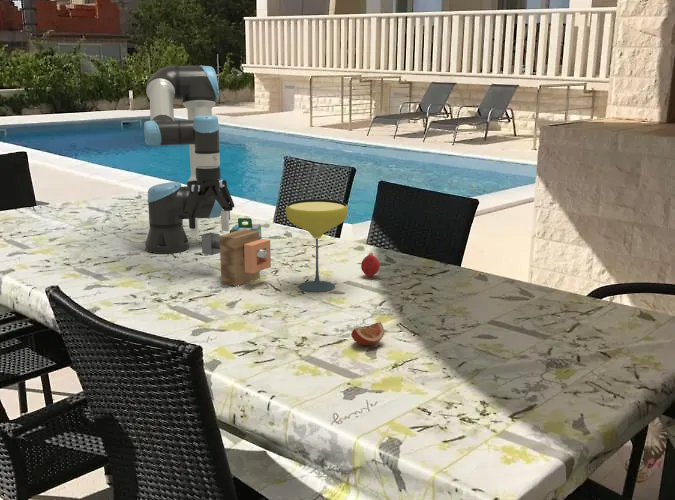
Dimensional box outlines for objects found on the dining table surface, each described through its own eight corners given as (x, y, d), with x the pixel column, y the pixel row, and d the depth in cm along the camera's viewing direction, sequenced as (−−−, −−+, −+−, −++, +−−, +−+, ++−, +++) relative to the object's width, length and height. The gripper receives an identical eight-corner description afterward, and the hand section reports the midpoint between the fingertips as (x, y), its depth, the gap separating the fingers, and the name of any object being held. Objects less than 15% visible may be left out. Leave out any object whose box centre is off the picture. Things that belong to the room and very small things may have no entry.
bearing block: (221, 283, 231) (219, 235, 227) (245, 274, 239) (243, 229, 236) (236, 286, 227) (234, 238, 224) (259, 278, 236) (258, 231, 232)
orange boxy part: (244, 271, 226) (244, 244, 224) (263, 265, 233) (262, 238, 230) (252, 273, 224) (251, 245, 222) (270, 267, 231) (270, 240, 229)
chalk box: (262, 257, 261) (261, 214, 257) (257, 264, 252) (256, 220, 248) (236, 256, 262) (235, 214, 258) (230, 263, 253) (228, 219, 249)
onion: (377, 280, 234) (378, 255, 232) (359, 279, 235) (359, 254, 233) (380, 275, 240) (381, 250, 238) (362, 274, 241) (362, 249, 239)
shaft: (202, 253, 238) (201, 234, 236) (211, 250, 241) (210, 232, 239) (261, 265, 225) (260, 245, 223) (269, 262, 228) (269, 242, 226)
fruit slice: (372, 336, 188) (372, 317, 186) (390, 344, 183) (390, 325, 181) (345, 344, 183) (346, 324, 182) (363, 352, 178) (363, 332, 176)
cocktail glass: (340, 297, 217) (341, 212, 211) (279, 293, 221) (278, 209, 214) (352, 280, 234) (352, 200, 228) (295, 276, 238) (294, 198, 232)
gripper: (187, 172, 219) (190, 243, 224) (244, 163, 239) (246, 229, 244) (168, 170, 223) (172, 240, 228) (226, 161, 243) (228, 226, 248)
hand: (210, 234), depth 236 cm, fingers open, 13 cm apart
